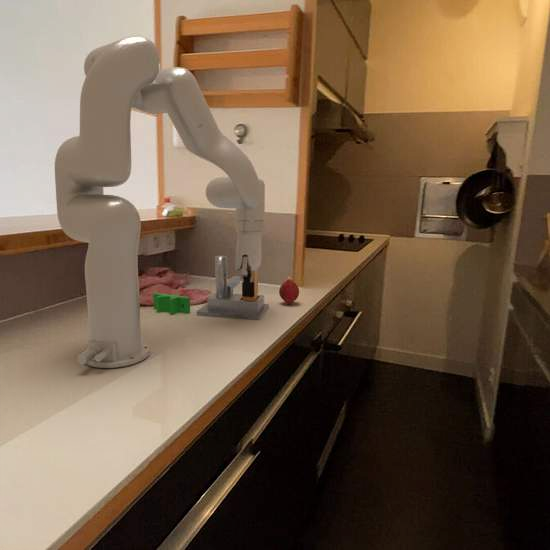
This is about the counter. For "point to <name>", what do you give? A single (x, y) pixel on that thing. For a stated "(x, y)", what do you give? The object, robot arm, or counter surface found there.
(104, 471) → the counter surface
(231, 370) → the counter surface
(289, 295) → the onion
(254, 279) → the orange rectangular block
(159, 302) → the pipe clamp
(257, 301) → the grey post stand
